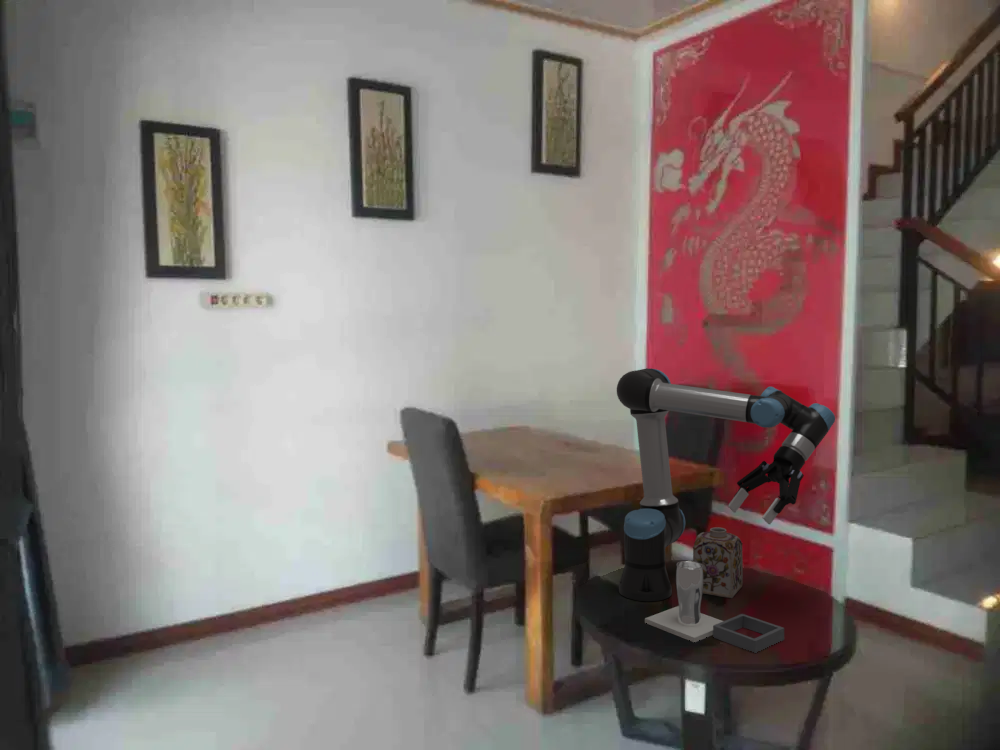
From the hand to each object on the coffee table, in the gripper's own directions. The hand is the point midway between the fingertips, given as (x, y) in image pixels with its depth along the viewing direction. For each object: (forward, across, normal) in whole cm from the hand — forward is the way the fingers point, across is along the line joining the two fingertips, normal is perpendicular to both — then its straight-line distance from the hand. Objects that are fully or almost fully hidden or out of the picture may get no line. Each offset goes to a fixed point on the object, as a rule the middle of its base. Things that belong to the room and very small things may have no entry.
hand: (748, 515), depth 196 cm
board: (+32, +2, -6) cm, 33 cm away
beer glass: (+31, +1, -6) cm, 32 cm away
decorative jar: (+16, +20, -24) cm, 35 cm away
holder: (+26, -11, -13) cm, 31 cm away
